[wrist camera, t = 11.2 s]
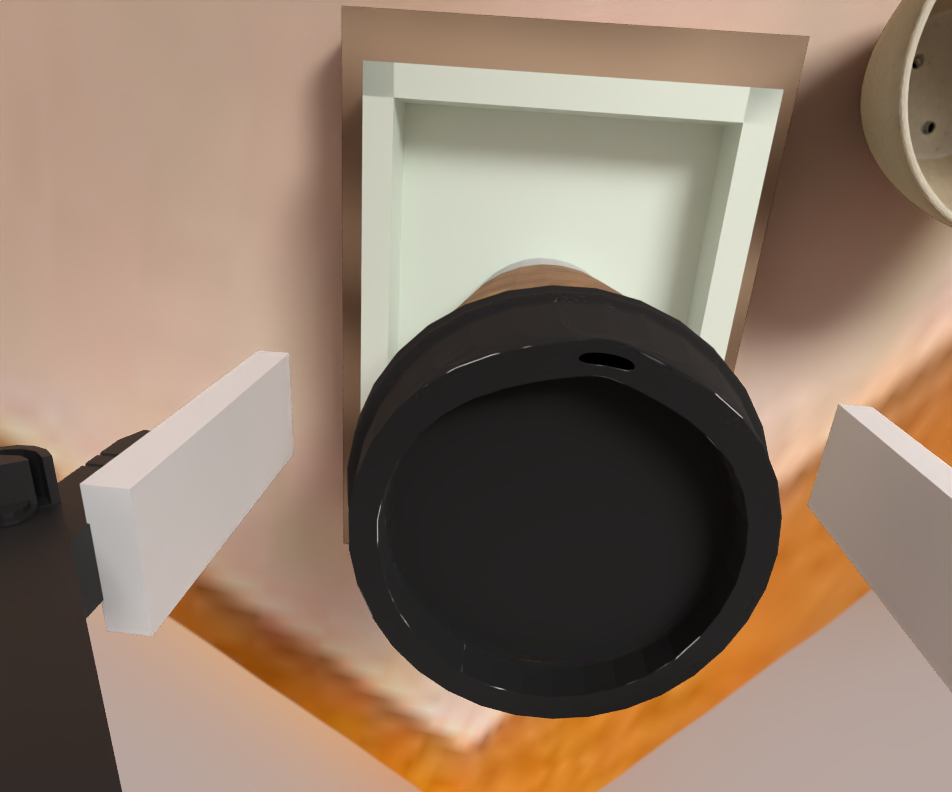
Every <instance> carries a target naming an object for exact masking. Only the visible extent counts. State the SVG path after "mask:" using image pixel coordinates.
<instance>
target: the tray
mask: <svg viewBox="0 0 952 792" xmlns="http://www.w3.org/2000/svg"><path fill="white" fill-rule="evenodd" d="M783 91H784V89H769V88H755V87H741V86H726V85H712V84H697V83H683V82H669V81H654V80H640V79H625V78H611V77H597V76H582V75H568V74H553V73H539V72H525V71H510V70H496V69H481V68H467V67H452V66H438V65H424V64H409V63H395V62H380V61H366V60H363V115H362V264H361V411H362V408H363V406H364V404H365V402H366V400H367V398H368V395H369V393H370V391H371V389H372V387H373V384H374V383H375V382H376V380H377V379H378V377H379V376H380V375H381V373H382V372H383V371H384V369H385V368H386V367H387V365H388V364H389V363H390V361H391V360H392V359H393V357H394V356H395V355H396V353H397V352H398V351H399V350H400V349H402V348H403V347H404V346H405V345H406V344H407V343H408V342H410V341H411V340H412V339H413V338H414V337H415V336H416V335H417V334H419V333H420V332H421V331H422V330H423V329H424V328H425V327H427V326H428V325H429V324H431V323H433V322H435V321H436V320H438V319H440V318H442V317H444V316H445V315H447V314H449V313H451V312H452V311H454V310H455V309H456V308H457V307H458V306H460V305H461V304H462V303H463V302H464V301H465V300H466V299H467V298H468V297H470V296H471V295H472V294H473V293H474V292H475V291H476V290H478V288H479V287H480V286H481V285H482V284H483V283H484V282H485V281H486V280H487V279H488V278H490V277H491V276H492V275H493V274H494V273H496V272H497V271H499V270H501V269H503V268H504V267H506V266H508V265H510V264H513V263H516V262H519V261H522V260H527V259H534V258H549V259H557V260H561V261H564V262H568V263H571V264H573V265H575V266H577V267H579V268H581V269H583V270H585V271H586V272H587V273H589V274H590V275H591V276H592V277H594V278H596V279H598V280H599V281H601V282H603V283H604V284H606V285H608V286H609V287H611V288H613V289H614V290H616V291H618V292H619V293H621V294H622V295H624V296H627V297H630V298H634V299H637V300H641V301H643V302H645V303H647V304H649V305H651V306H653V307H654V308H656V309H658V310H660V311H662V312H664V313H666V314H668V315H670V316H672V317H674V318H676V319H678V320H680V321H681V322H682V323H684V324H685V325H686V326H687V327H688V328H690V329H691V330H692V331H693V332H695V333H696V334H697V335H698V336H700V337H701V338H702V339H703V340H705V341H706V342H707V343H708V344H709V345H711V346H712V347H713V348H714V349H715V350H716V352H717V353H718V354H719V355H720V356H721V358H722V359H723V360H725V355H726V351H727V346H728V342H729V337H730V332H731V328H732V323H733V319H734V314H735V310H736V305H737V301H738V296H739V291H740V287H741V282H742V278H743V273H744V269H745V264H746V259H747V255H748V250H749V246H750V241H751V237H752V232H753V228H754V223H755V218H756V214H757V209H758V205H759V200H760V196H761V191H762V186H763V182H764V177H765V173H766V168H767V164H768V159H769V155H770V150H771V145H772V141H773V136H774V132H775V127H776V123H777V118H778V113H779V109H780V104H781V100H782V95H783ZM360 413H361V412H360Z"/></svg>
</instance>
